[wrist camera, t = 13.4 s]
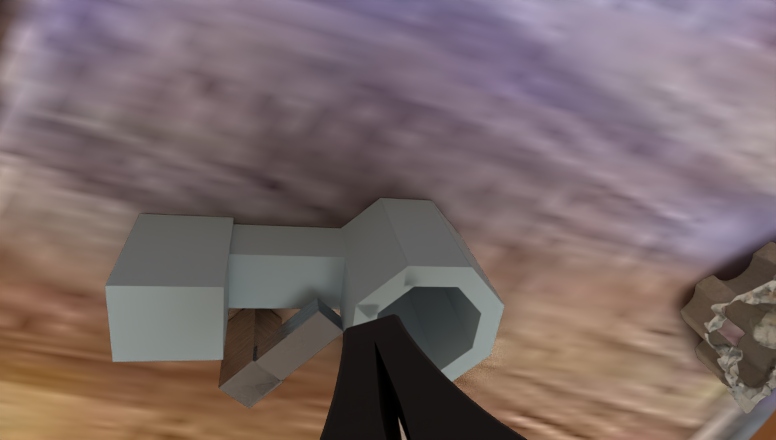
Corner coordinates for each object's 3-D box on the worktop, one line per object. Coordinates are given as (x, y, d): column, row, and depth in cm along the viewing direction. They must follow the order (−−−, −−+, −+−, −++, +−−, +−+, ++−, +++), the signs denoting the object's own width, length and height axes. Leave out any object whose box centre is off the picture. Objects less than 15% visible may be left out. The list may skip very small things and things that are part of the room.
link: (467, 201, 24) (515, 267, 19) (443, 305, 26) (481, 387, 21) (138, 184, 21) (97, 258, 16) (145, 303, 23) (112, 398, 18)
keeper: (334, 275, 24) (345, 333, 21) (252, 342, 25) (249, 408, 21) (310, 253, 23) (316, 309, 20) (226, 322, 24) (218, 388, 21)
